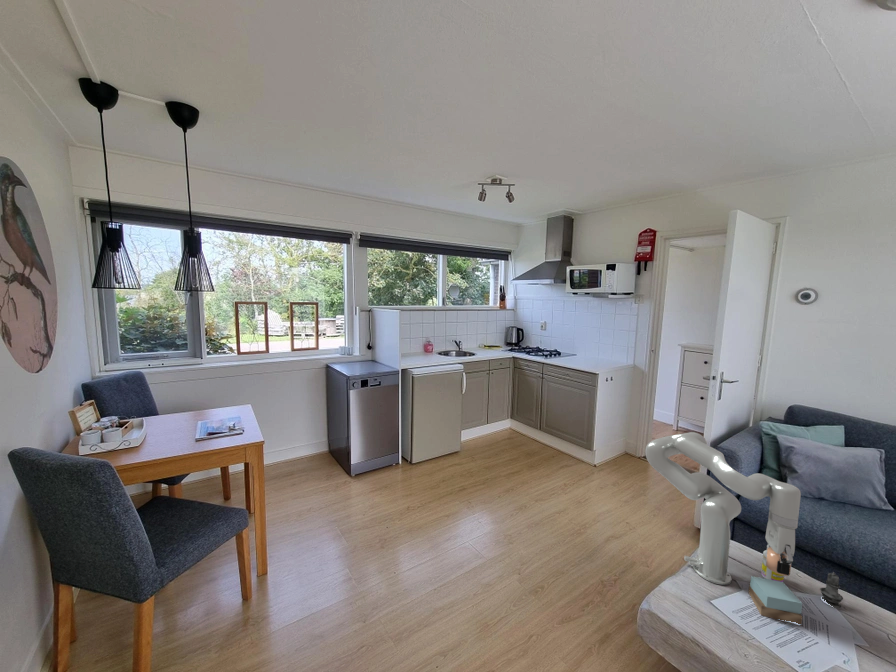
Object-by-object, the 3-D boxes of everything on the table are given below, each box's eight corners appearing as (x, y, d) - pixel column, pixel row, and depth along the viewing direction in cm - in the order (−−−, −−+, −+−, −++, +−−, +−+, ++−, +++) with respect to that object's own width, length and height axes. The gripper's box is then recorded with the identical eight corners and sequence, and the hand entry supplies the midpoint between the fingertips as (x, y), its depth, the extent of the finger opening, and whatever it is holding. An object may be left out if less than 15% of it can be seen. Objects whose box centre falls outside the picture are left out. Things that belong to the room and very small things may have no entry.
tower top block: (766, 607, 125) (767, 596, 124) (750, 586, 134) (751, 576, 134) (800, 614, 122) (802, 603, 122) (781, 592, 132) (782, 582, 131)
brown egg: (770, 572, 126) (771, 555, 126) (762, 560, 132) (764, 545, 131) (793, 578, 123) (795, 561, 123) (785, 566, 129) (786, 550, 129)
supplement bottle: (786, 582, 142) (790, 551, 141) (777, 586, 139) (780, 555, 138) (766, 570, 148) (769, 541, 147) (757, 574, 145) (760, 544, 145)
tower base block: (760, 616, 125) (761, 605, 125) (748, 593, 136) (749, 583, 135) (801, 627, 121) (802, 616, 121) (785, 603, 131) (786, 593, 131)
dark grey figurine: (847, 610, 129) (850, 579, 128) (827, 607, 130) (831, 576, 129) (833, 598, 134) (836, 567, 134) (814, 595, 136) (818, 565, 135)
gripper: (759, 504, 136) (755, 549, 137) (780, 529, 120) (775, 579, 121) (785, 509, 133) (780, 555, 134) (809, 535, 117) (804, 587, 118)
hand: (778, 566), depth 128 cm, fingers closed on brown egg, 6 cm apart
